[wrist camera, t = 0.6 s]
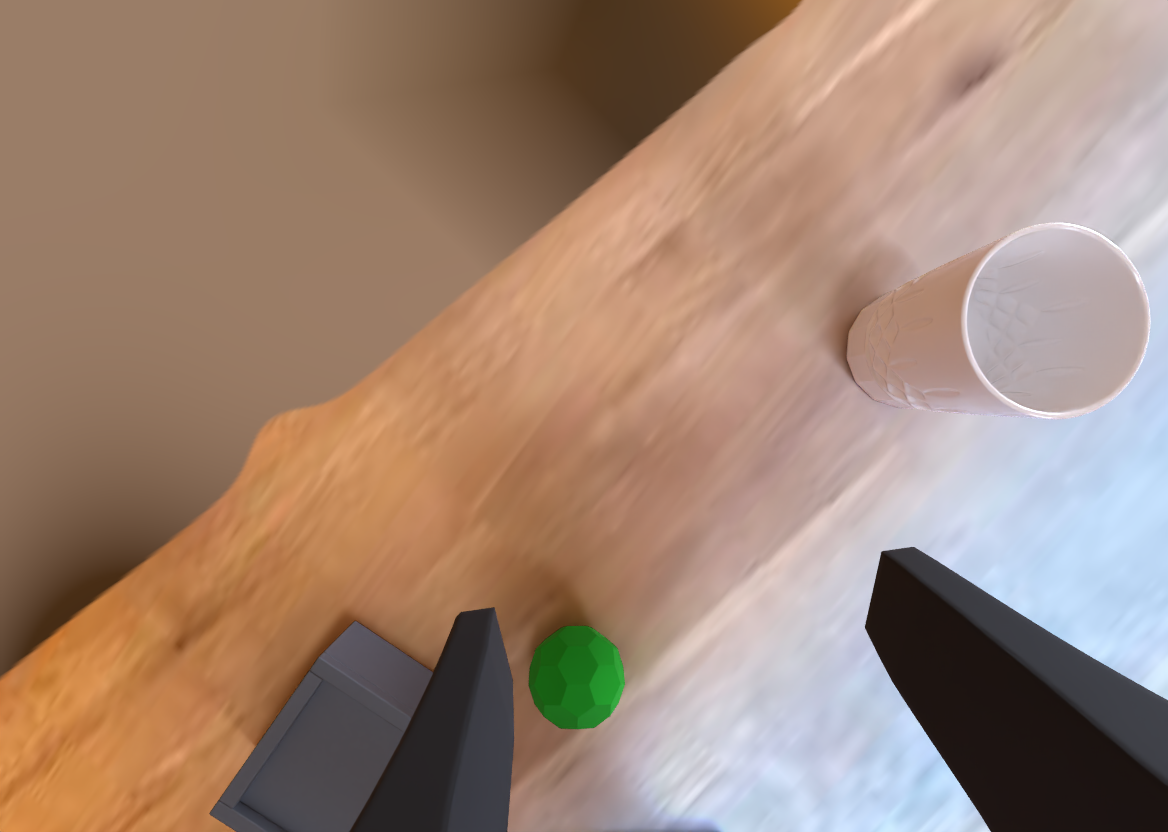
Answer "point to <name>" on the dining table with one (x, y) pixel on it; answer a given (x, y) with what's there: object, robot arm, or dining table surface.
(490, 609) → the robot arm
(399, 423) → the dining table surface
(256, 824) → the grey box
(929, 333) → the white cup
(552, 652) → the polyhedron
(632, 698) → the dining table surface
